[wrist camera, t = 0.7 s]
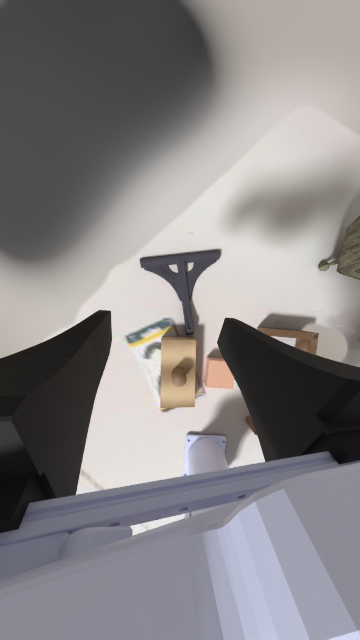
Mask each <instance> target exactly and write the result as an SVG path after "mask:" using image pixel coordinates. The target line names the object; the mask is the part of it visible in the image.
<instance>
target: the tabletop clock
mask: <svg viewBox="0 0 360 640" xmlns="http://www.w3.org/2000/svg"><path fill="white" fill-rule="evenodd" d="M334 264H338V267H337V271H338V272H339V273H341V274H343V275H346V276H350V277H353V278H356V279H359V280H360V216H359V217H358V218H357V219H356V220H355V221H354V222H353V223H352V224H351V225H350V226H349V227H348V228H347V231H346V235H345V239H344V243H343V247H342V251H341V255H340V258H339V259H337V260H335V261H333V262H331V263H327V262H324V263H321V264H320V265H319V270H320V271H326V270H327V269H328V268H329V266H331V265H334Z"/></svg>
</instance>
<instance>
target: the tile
mask: <svg viewBox="0 0 360 640" xmlns="http://www.w3.org/2000/svg"><path fill="white" fill-rule="evenodd" d="M204 383H205V385H206V387H213V388H228V389H233V384H234V377H233V375H232V373H231V371H230V370H229V368H228V366H227V364H226V362H225V360H224V358H215V357H207V358H206V367H205V376H204Z"/></svg>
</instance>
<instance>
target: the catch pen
mask: <svg viewBox="0 0 360 640" xmlns="http://www.w3.org/2000/svg"><path fill="white" fill-rule="evenodd" d="M257 330H259V331H261V332H263V333H264V334H266V335H268V336H278V337H290V338H296V346H295V348H297V349H300V350H303V351H305V352H308V353H311V354H314V355H316V349H317V341H318V333H313V332H307V331H298V330H287V329H276V328H264V327H257ZM246 422H247V424H248V425H249V427H250V428H251V429H252V431H253V432H254V434H255V435H257V432H256V429H255V426H254V423H253V421H252V418H251V417H250V416H247V421H246Z"/></svg>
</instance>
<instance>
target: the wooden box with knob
mask: <svg viewBox="0 0 360 640" xmlns="http://www.w3.org/2000/svg"><path fill="white" fill-rule="evenodd" d="M195 371H196V339H195V338H194V337H162V339H161V408H173V407H195Z"/></svg>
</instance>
